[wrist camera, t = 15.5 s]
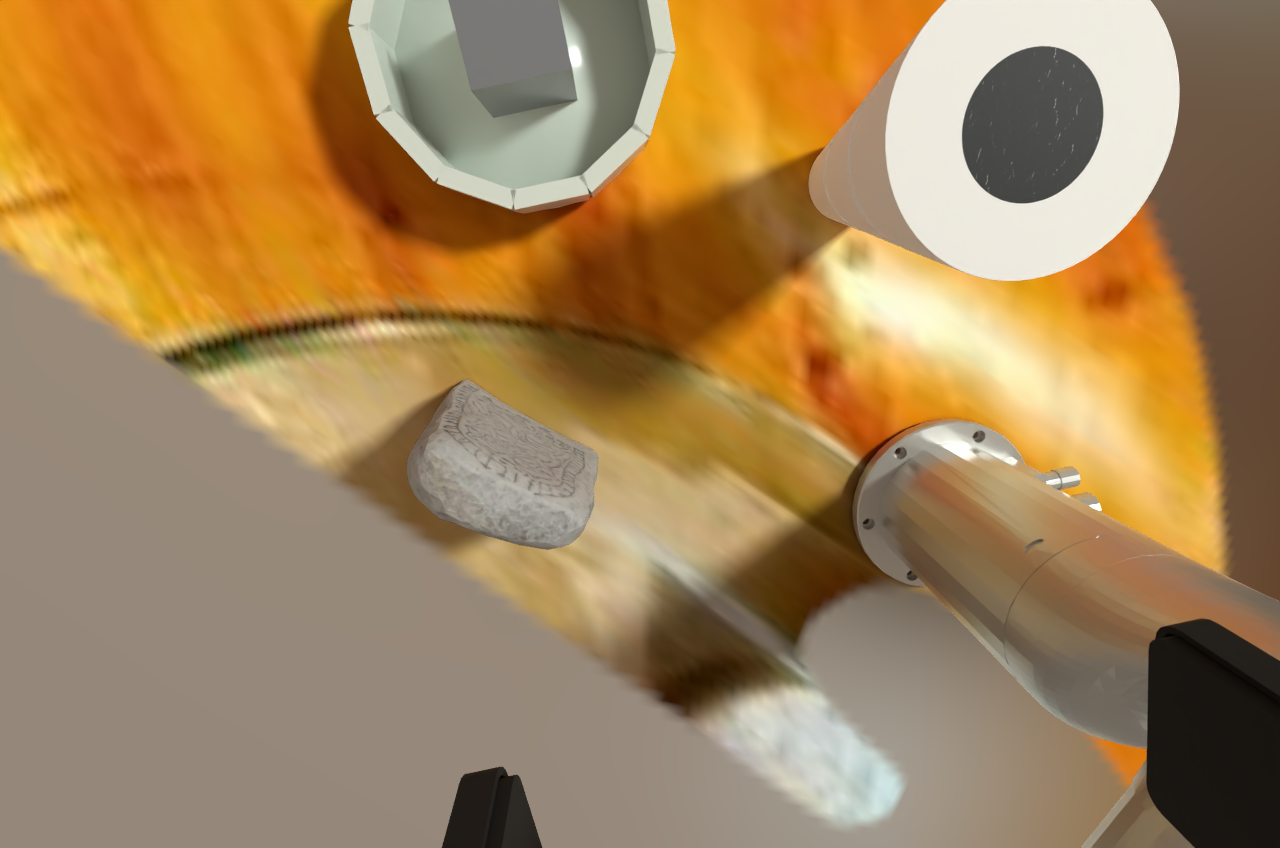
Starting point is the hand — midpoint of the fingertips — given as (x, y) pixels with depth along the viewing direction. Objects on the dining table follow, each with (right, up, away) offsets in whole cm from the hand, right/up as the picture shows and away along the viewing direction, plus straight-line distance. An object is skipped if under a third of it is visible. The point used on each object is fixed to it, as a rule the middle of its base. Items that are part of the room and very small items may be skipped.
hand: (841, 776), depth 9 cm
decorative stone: (-11, +4, +34) cm, 36 cm away
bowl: (-10, +26, +28) cm, 39 cm away
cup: (+10, +20, +31) cm, 38 cm away
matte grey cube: (-10, +26, +27) cm, 39 cm away
